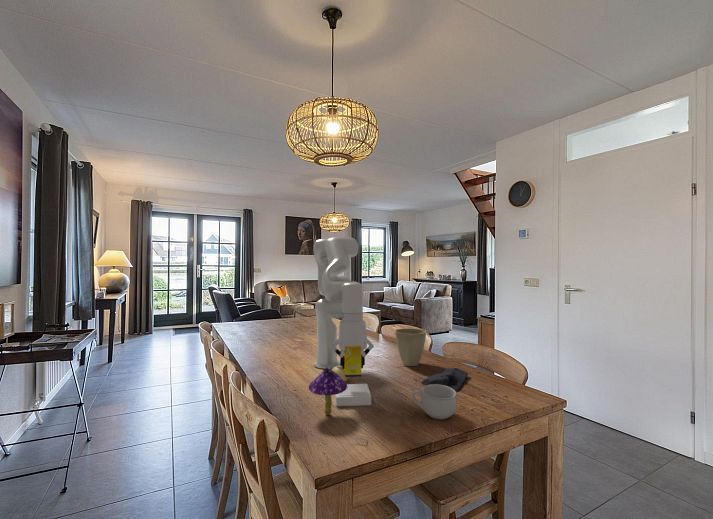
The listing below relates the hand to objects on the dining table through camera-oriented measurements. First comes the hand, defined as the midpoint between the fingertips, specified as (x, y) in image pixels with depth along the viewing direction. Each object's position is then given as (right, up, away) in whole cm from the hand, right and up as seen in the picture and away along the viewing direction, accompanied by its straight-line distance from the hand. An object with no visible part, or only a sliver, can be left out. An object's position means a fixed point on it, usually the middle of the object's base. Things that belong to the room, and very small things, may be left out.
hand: (352, 367), depth 121 cm
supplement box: (0, -3, 0) cm, 3 cm away
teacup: (+26, -11, -13) cm, 31 cm away
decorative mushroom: (-8, -11, -13) cm, 19 cm away
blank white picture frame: (0, -11, 0) cm, 11 cm away
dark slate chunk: (+39, -12, +18) cm, 45 cm away
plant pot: (+27, -12, +42) cm, 51 cm away
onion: (-6, -12, +18) cm, 22 cm away
